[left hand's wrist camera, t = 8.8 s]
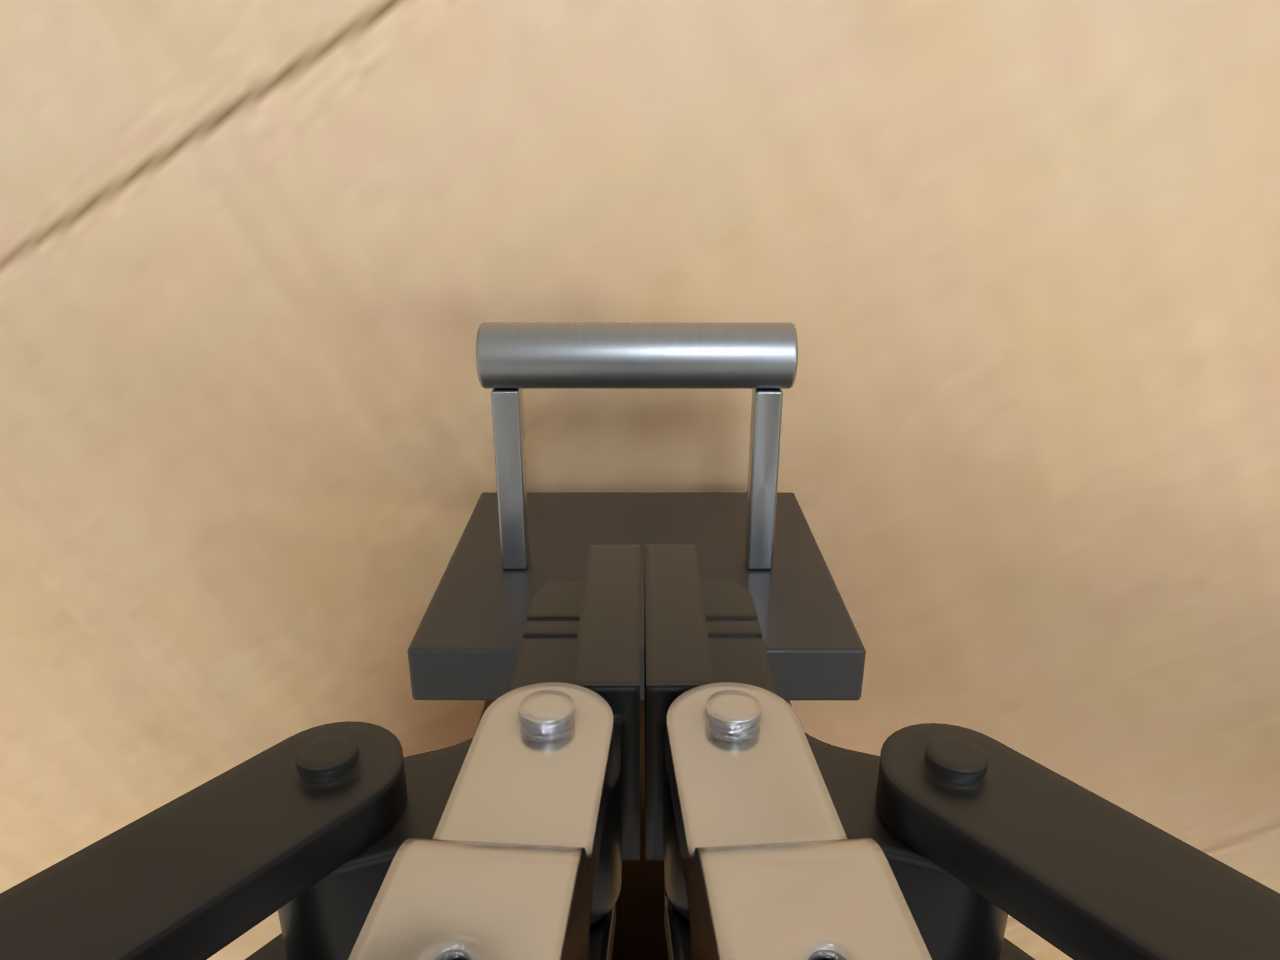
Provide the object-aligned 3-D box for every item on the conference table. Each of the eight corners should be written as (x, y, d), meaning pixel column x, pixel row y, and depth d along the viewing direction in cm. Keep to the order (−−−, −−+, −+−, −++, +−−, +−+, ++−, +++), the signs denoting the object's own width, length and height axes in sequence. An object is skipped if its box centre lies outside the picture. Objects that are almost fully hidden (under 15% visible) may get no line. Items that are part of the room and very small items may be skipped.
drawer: (467, 290, 23) (375, 362, 15) (807, 290, 23) (897, 362, 15) (514, 975, 32) (471, 1254, 24) (762, 975, 32) (803, 1254, 24)
